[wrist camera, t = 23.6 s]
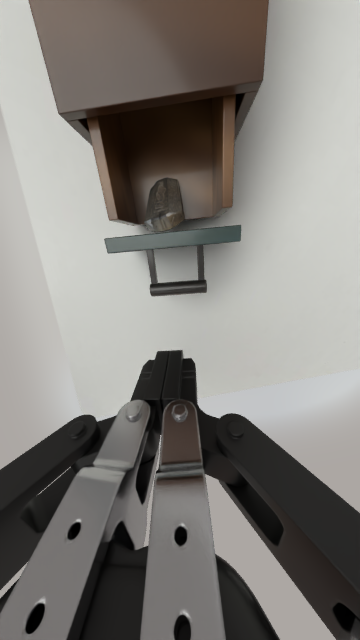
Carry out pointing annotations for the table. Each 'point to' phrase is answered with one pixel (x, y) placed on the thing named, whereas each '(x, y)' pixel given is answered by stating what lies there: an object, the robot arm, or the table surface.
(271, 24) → the table surface
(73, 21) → the cabinet
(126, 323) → the table surface
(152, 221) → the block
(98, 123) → the drawer
